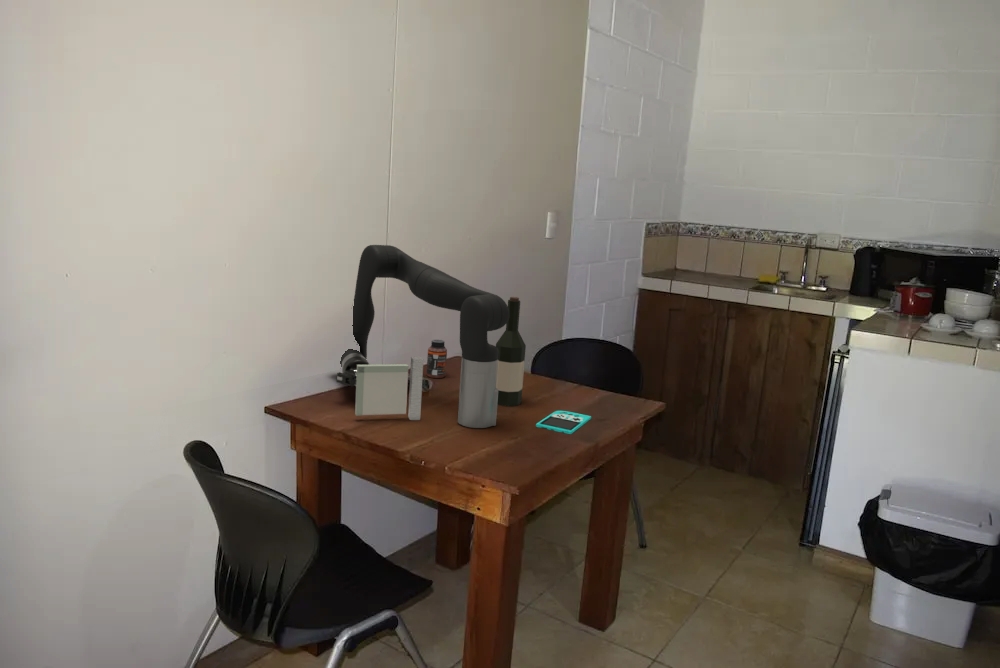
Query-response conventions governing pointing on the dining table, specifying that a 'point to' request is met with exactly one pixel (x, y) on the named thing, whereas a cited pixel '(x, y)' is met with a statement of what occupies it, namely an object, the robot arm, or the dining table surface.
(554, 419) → the handheld game console
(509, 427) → the dining table surface
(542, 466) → the dining table surface
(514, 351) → the wine bottle
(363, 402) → the beige and green panel
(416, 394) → the post
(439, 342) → the supplement bottle
